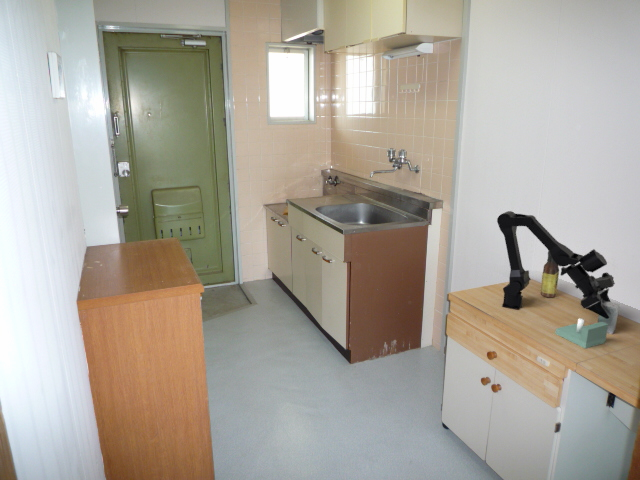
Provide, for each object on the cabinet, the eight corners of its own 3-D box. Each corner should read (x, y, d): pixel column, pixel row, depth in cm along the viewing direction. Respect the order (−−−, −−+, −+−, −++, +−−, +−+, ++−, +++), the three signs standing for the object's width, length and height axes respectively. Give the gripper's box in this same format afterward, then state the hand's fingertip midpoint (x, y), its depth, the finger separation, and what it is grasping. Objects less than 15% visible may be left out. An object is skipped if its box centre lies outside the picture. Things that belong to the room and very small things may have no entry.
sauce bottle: (557, 298, 201) (564, 254, 196) (541, 297, 202) (547, 253, 197) (553, 293, 207) (559, 250, 202) (538, 292, 209) (544, 249, 203)
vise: (555, 333, 170) (557, 315, 168) (574, 328, 174) (577, 311, 172) (585, 348, 159) (588, 329, 157) (605, 342, 163) (608, 324, 161)
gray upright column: (596, 330, 173) (600, 304, 170) (599, 325, 176) (603, 300, 174) (612, 334, 169) (617, 308, 167) (615, 329, 173) (619, 304, 170)
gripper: (596, 274, 163) (627, 312, 159) (606, 261, 176) (635, 295, 173) (568, 289, 170) (597, 326, 166) (579, 276, 183) (607, 309, 180)
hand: (610, 314), depth 171 cm, fingers open, 9 cm apart
